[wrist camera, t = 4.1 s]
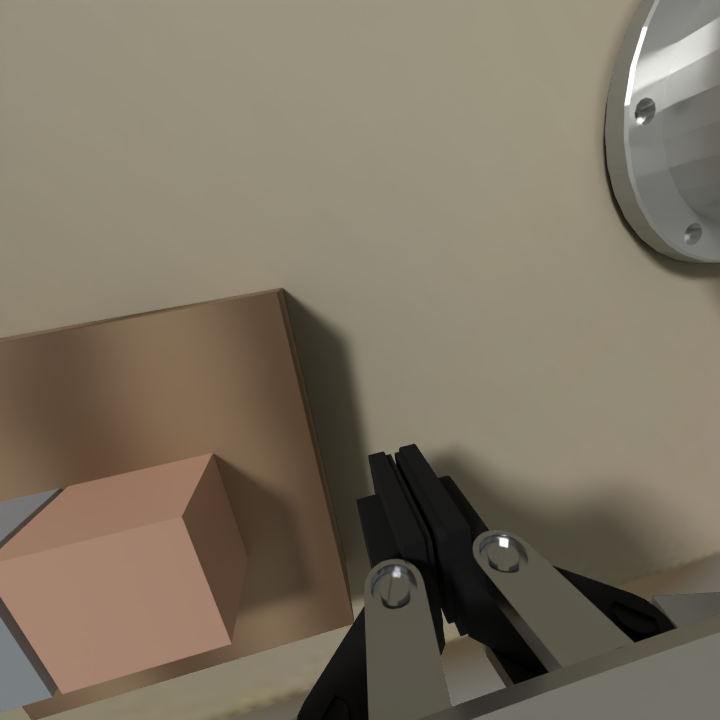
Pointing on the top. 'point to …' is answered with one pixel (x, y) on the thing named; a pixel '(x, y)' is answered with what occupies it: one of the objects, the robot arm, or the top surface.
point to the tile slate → (3, 635)
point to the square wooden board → (187, 451)
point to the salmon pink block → (127, 573)
